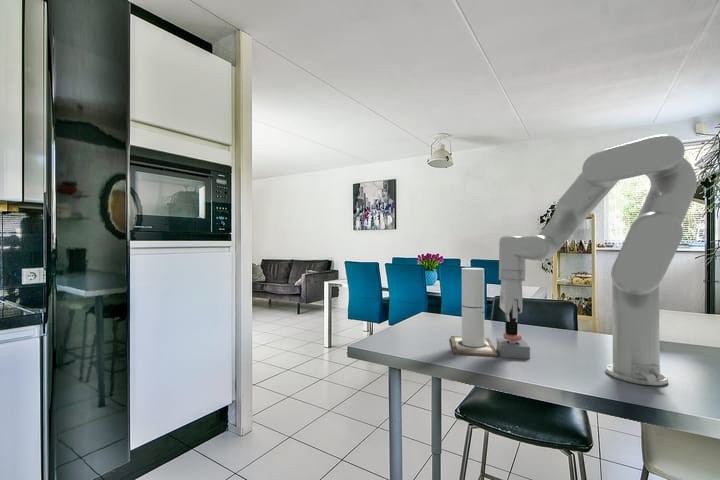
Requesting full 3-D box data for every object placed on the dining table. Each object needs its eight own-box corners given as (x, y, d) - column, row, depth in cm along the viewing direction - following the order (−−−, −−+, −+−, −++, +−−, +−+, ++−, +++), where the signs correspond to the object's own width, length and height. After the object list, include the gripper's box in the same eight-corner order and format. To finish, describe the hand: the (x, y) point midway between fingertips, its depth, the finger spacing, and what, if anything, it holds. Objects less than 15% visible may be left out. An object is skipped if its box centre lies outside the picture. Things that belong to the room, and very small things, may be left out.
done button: (523, 349, 105) (523, 337, 105) (505, 347, 106) (505, 336, 106) (519, 344, 110) (519, 332, 110) (502, 343, 111) (502, 331, 111)
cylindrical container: (457, 342, 117) (457, 268, 117) (474, 339, 120) (474, 267, 120) (471, 348, 110) (470, 269, 111) (489, 345, 113) (488, 269, 113)
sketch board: (497, 356, 105) (497, 353, 105) (453, 353, 108) (453, 350, 108) (488, 340, 123) (488, 337, 123) (450, 338, 125) (450, 335, 125)
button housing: (529, 358, 103) (529, 347, 103) (501, 357, 105) (501, 345, 105) (523, 350, 111) (523, 339, 111) (496, 348, 113) (496, 338, 113)
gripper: (495, 272, 116) (494, 327, 116) (503, 277, 101) (503, 340, 102) (519, 273, 115) (518, 328, 115) (531, 278, 100) (530, 341, 100)
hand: (511, 334), depth 108 cm, fingers closed
